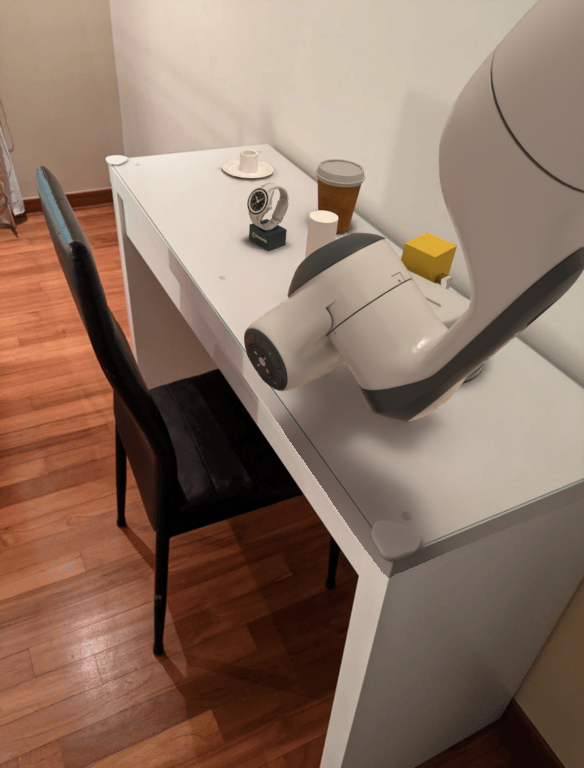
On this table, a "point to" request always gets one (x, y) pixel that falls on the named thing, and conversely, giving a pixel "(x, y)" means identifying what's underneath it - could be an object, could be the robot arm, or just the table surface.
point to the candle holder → (247, 166)
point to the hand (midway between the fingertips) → (427, 270)
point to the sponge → (428, 256)
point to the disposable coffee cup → (339, 189)
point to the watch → (267, 230)
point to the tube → (320, 230)
